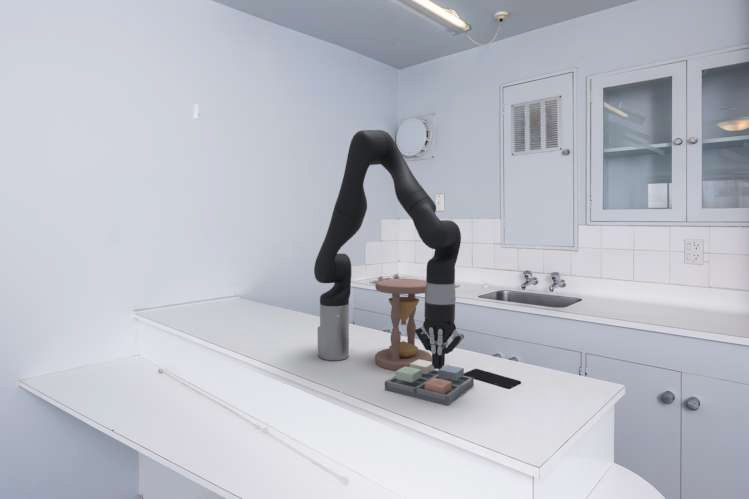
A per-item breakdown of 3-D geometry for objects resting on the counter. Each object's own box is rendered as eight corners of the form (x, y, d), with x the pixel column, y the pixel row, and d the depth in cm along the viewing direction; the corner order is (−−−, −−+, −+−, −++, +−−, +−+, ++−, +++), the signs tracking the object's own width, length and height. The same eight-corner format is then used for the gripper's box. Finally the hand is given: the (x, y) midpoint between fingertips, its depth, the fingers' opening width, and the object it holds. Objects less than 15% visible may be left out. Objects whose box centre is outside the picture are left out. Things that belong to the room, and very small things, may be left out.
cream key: (409, 370, 129) (410, 363, 129) (418, 366, 133) (418, 359, 133) (426, 374, 126) (426, 367, 126) (434, 369, 130) (434, 362, 130)
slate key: (438, 377, 124) (438, 369, 124) (446, 371, 128) (446, 364, 128) (455, 380, 121) (455, 373, 121) (463, 375, 125) (463, 368, 125)
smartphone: (509, 388, 124) (461, 373, 134) (508, 391, 124) (461, 376, 134) (522, 381, 128) (475, 368, 139) (522, 384, 128) (475, 370, 139)
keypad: (384, 389, 123) (384, 381, 123) (414, 373, 136) (414, 365, 136) (447, 405, 113) (447, 396, 112) (473, 385, 126) (473, 377, 126)
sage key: (395, 378, 123) (395, 371, 123) (405, 373, 127) (405, 366, 127) (412, 382, 120) (412, 374, 120) (421, 377, 124) (421, 369, 124)
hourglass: (411, 375, 134) (412, 288, 132) (363, 363, 144) (364, 283, 143) (441, 360, 148) (443, 281, 146) (396, 350, 158) (396, 277, 157)
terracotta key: (424, 391, 118) (424, 383, 118) (433, 385, 122) (433, 377, 122) (442, 395, 115) (442, 387, 115) (451, 389, 119) (451, 381, 119)
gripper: (409, 299, 118) (408, 366, 119) (458, 306, 110) (456, 377, 112) (423, 295, 124) (422, 359, 125) (470, 301, 117) (468, 369, 118)
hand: (438, 367), depth 119 cm, fingers closed
